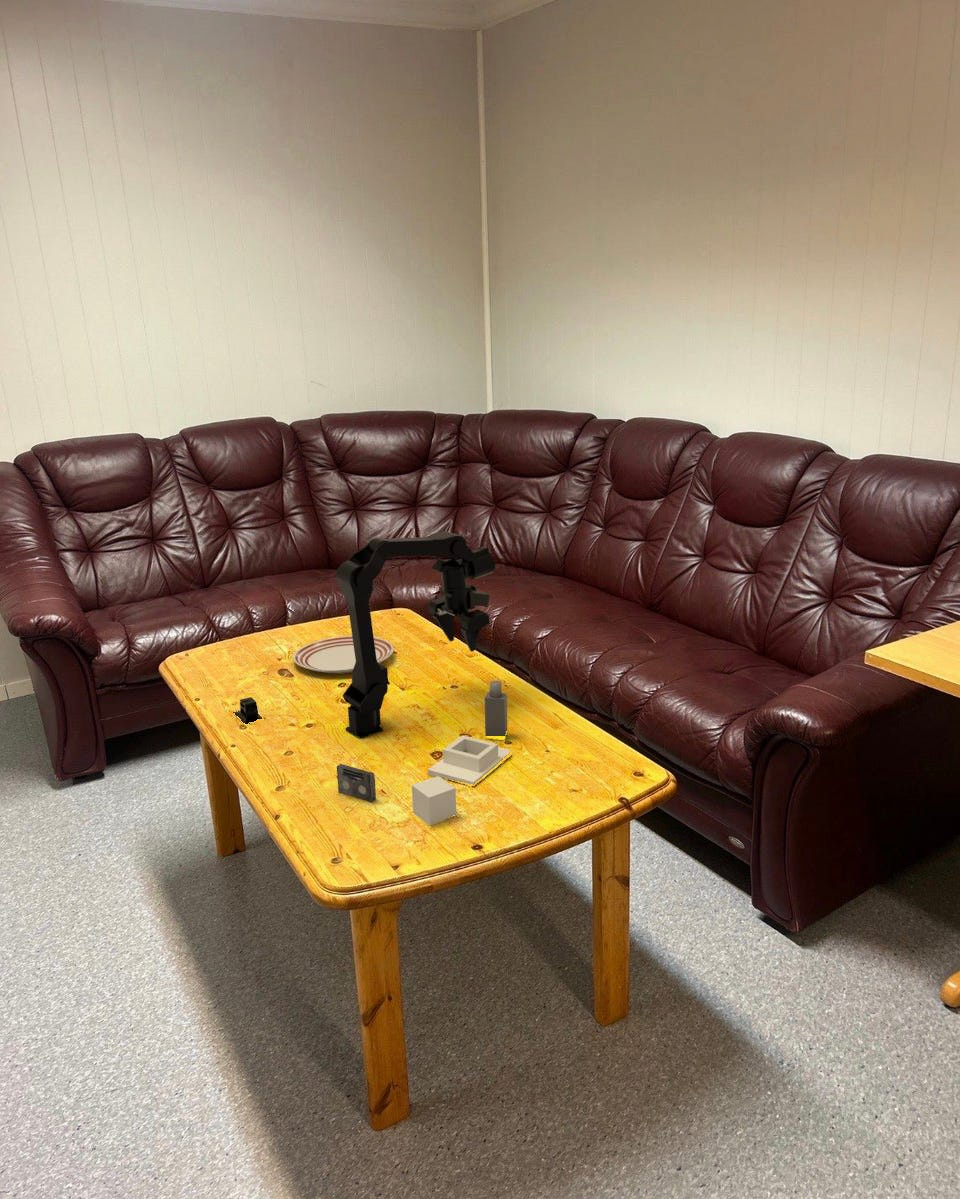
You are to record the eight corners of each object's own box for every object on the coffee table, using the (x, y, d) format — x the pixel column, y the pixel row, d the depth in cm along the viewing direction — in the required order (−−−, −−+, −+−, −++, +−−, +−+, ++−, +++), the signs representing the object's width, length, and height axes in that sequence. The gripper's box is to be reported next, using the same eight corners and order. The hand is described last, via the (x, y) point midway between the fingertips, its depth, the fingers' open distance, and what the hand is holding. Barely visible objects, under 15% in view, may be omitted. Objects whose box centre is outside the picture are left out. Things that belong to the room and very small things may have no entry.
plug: (485, 739, 207) (484, 685, 203) (488, 732, 211) (487, 679, 207) (504, 740, 207) (504, 686, 203) (507, 734, 210) (506, 680, 206)
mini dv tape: (376, 799, 183) (374, 772, 181) (371, 802, 182) (369, 775, 180) (343, 789, 187) (341, 762, 185) (338, 792, 186) (336, 765, 184)
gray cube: (439, 803, 181) (438, 775, 179) (456, 816, 176) (455, 787, 175) (413, 813, 178) (411, 785, 176) (429, 826, 173) (428, 797, 171)
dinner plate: (275, 675, 247) (274, 663, 246) (321, 641, 272) (320, 630, 271) (370, 685, 239) (369, 673, 238) (408, 649, 264) (408, 638, 263)
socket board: (428, 774, 192) (427, 756, 191) (468, 744, 205) (468, 727, 204) (473, 787, 186) (472, 768, 185) (512, 755, 200) (512, 737, 198)
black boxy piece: (227, 712, 225) (225, 695, 224) (256, 705, 229) (254, 688, 228) (243, 731, 215) (241, 713, 214) (273, 723, 219) (272, 706, 217)
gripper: (505, 584, 215) (511, 646, 220) (461, 568, 229) (468, 626, 235) (465, 596, 209) (473, 660, 214) (423, 579, 224) (431, 639, 229)
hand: (462, 645), depth 223 cm, fingers open, 9 cm apart
